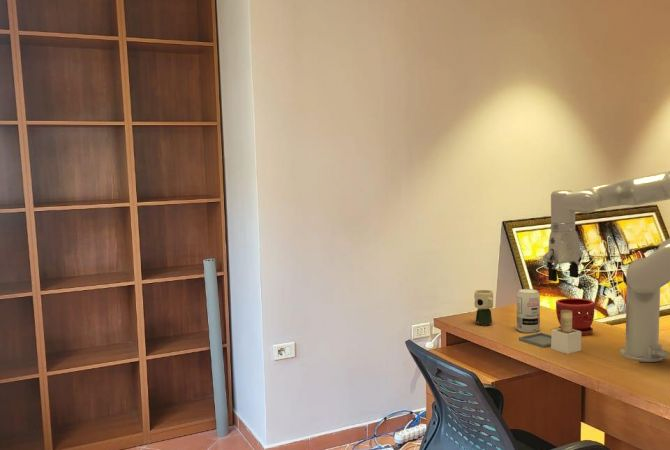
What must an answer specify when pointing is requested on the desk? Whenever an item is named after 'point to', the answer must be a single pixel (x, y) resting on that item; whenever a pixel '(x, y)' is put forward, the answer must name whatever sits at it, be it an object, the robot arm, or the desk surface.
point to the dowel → (566, 321)
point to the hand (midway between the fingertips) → (563, 278)
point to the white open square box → (566, 341)
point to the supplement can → (528, 311)
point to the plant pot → (578, 320)
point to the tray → (537, 339)
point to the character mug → (483, 306)
